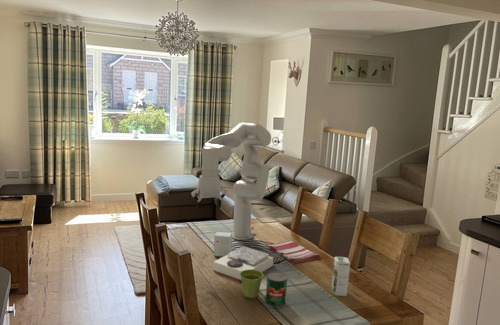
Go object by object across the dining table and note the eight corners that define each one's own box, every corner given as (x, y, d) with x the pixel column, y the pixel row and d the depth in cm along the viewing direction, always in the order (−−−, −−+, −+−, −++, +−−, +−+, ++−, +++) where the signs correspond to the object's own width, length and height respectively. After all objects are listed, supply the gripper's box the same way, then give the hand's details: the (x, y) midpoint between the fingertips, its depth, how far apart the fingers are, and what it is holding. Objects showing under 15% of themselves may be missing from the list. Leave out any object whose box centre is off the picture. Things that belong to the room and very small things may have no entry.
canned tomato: (270, 309, 155) (272, 281, 153) (261, 299, 162) (263, 273, 160) (289, 306, 158) (291, 279, 156) (279, 296, 165) (281, 270, 164)
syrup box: (330, 288, 174) (333, 256, 171) (344, 289, 174) (347, 257, 171) (332, 295, 168) (335, 261, 166) (347, 296, 168) (350, 262, 166)
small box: (231, 253, 207) (232, 232, 205) (229, 257, 202) (230, 236, 200) (215, 251, 208) (216, 231, 206) (213, 255, 202) (214, 235, 201)
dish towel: (293, 265, 197) (294, 259, 197) (265, 248, 217) (266, 243, 216) (320, 259, 206) (320, 253, 206) (291, 243, 226) (291, 238, 225)
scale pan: (243, 248, 202) (243, 246, 202) (269, 256, 194) (269, 254, 194) (227, 256, 191) (227, 253, 191) (253, 264, 183) (254, 262, 183)
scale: (241, 255, 204) (242, 246, 204) (272, 265, 194) (273, 256, 194) (213, 270, 186) (213, 260, 186) (245, 281, 177) (246, 271, 176)
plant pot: (245, 302, 159) (246, 281, 158) (234, 291, 168) (235, 271, 166) (266, 298, 164) (267, 277, 162) (255, 287, 172) (256, 267, 170)
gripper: (224, 170, 200) (222, 205, 203) (189, 172, 193) (188, 208, 196) (230, 173, 194) (228, 209, 197) (194, 175, 186) (193, 212, 189)
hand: (208, 208), depth 196 cm, fingers open, 9 cm apart
